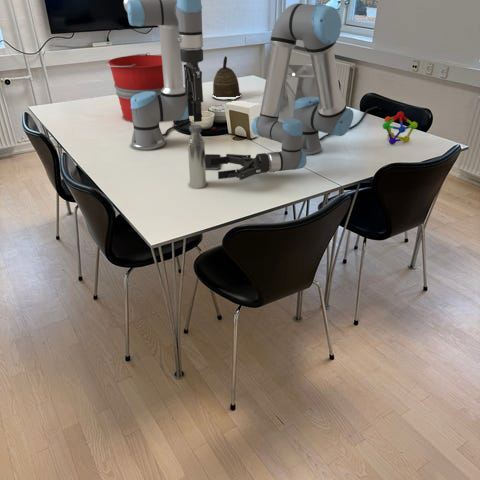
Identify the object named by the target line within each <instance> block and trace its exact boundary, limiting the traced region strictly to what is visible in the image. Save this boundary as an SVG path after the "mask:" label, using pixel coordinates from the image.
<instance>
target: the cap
mask: <svg viewBox="0 0 480 480" xmlns="http://www.w3.org/2000/svg"><path fill="white" fill-rule="evenodd" d="M188 130H189V133H191V132H192V133H199V132H200V133H201V132H202V130H203V129H202V125H200V124H191V125H189V128H188ZM192 133H191V134H192Z"/></svg>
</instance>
